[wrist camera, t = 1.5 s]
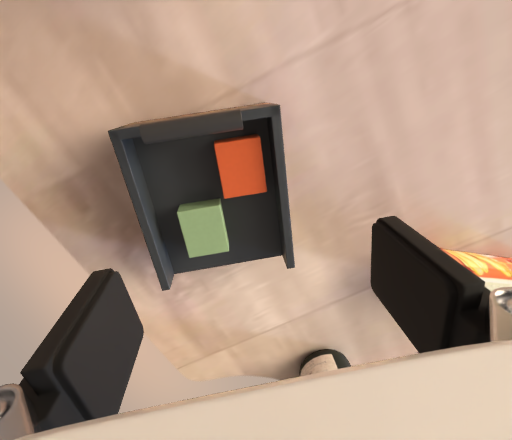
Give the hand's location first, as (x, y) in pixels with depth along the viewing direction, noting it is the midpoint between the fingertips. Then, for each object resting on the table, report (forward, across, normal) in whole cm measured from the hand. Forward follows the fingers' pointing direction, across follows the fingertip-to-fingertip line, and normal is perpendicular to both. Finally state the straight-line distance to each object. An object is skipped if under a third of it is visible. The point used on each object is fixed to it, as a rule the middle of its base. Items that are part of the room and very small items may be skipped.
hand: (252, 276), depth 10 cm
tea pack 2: (+18, 0, 0) cm, 18 cm away
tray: (+19, +3, +3) cm, 19 cm away
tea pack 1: (+18, +4, +6) cm, 19 cm away
